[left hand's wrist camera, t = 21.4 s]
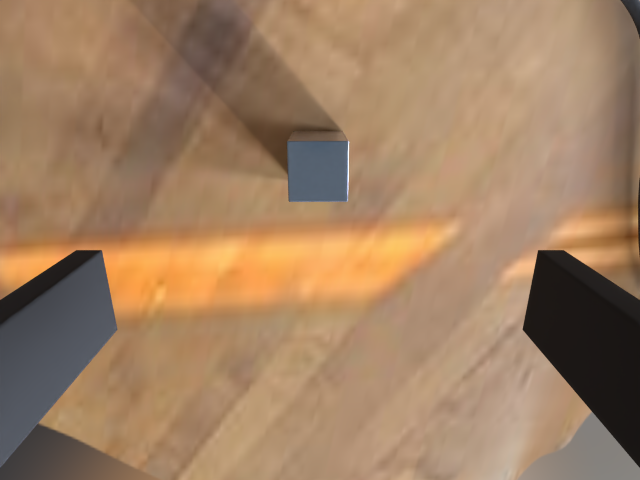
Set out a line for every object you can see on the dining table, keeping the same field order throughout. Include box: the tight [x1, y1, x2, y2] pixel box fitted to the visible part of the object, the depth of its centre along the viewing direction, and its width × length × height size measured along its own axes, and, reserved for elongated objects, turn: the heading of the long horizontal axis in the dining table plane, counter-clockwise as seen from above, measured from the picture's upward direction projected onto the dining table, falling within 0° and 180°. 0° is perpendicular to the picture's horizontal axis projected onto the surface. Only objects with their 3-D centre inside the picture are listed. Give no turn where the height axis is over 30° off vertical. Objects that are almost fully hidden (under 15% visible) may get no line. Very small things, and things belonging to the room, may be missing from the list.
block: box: [287, 131, 349, 202], centre depth 36 cm, size 5×5×8 cm
